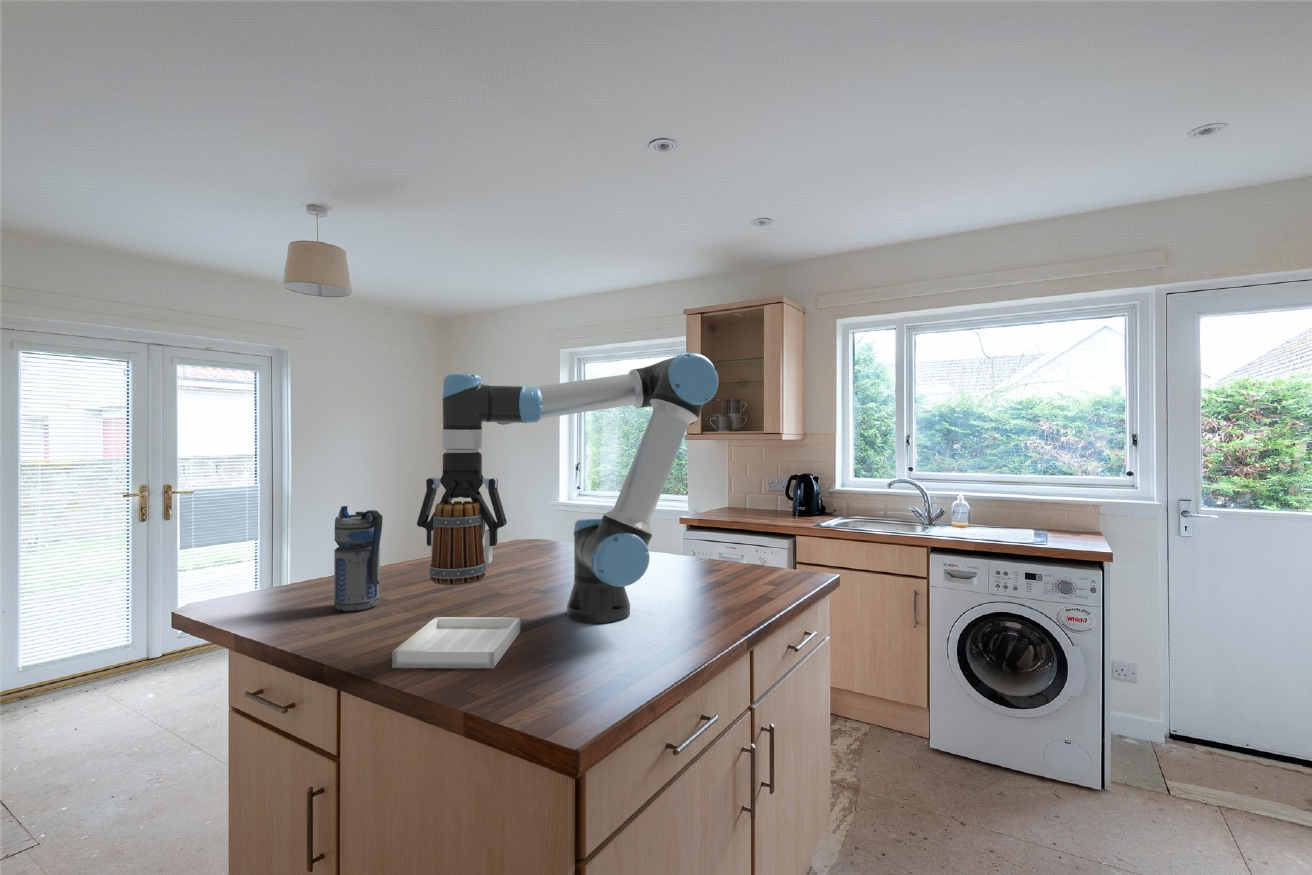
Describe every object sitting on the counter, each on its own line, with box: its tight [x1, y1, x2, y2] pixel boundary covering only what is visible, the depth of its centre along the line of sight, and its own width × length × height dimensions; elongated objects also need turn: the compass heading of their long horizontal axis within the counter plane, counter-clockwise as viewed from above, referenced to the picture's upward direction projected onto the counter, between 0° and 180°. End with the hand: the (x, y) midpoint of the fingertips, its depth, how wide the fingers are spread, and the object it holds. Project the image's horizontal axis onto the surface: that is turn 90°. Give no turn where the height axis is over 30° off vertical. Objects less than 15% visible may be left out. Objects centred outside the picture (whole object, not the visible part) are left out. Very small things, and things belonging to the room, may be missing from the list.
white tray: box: [391, 616, 522, 669], centre depth 123 cm, size 19×22×3 cm
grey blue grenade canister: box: [333, 505, 383, 612], centre depth 153 cm, size 10×13×25 cm
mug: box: [429, 500, 487, 586], centre depth 123 cm, size 16×11×15 cm
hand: (462, 562), depth 123 cm, fingers closed on mug, 10 cm apart
